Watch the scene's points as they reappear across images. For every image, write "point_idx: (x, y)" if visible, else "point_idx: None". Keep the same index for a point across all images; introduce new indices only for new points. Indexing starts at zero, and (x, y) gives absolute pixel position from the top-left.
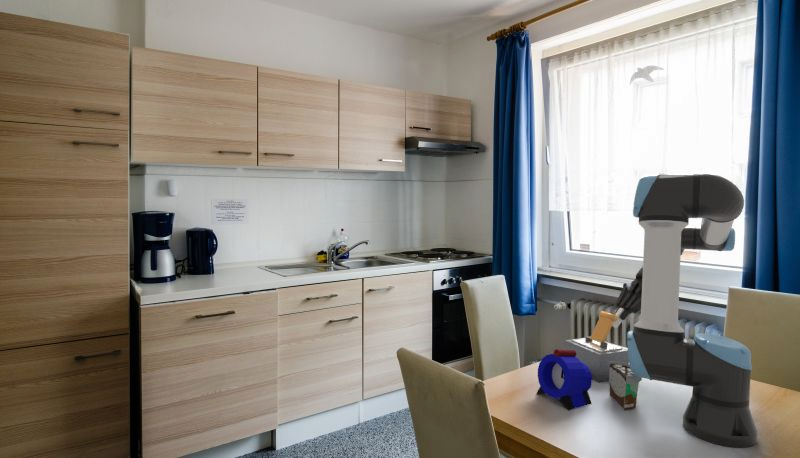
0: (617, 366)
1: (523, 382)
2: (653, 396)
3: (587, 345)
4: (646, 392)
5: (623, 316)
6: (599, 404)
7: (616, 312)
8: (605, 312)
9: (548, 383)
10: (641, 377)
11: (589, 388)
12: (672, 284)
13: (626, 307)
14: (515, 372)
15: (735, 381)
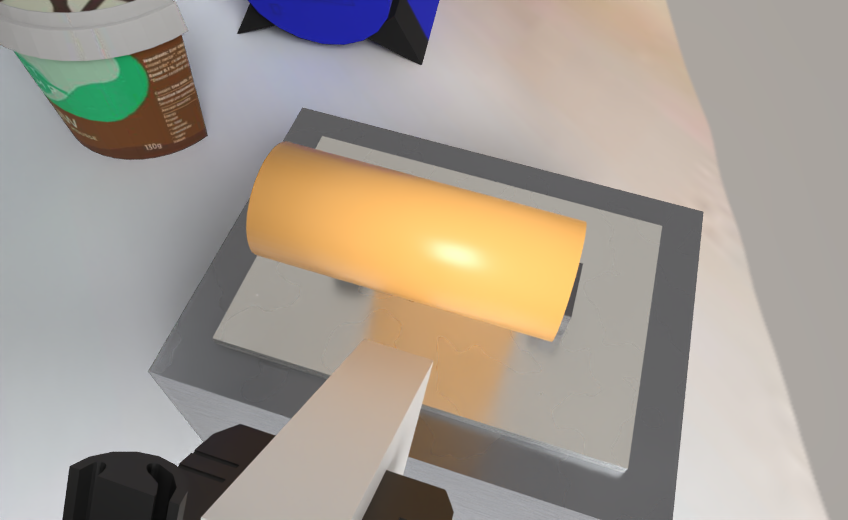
0: (116, 2)
1: (563, 17)
2: (5, 281)
3: (473, 189)
4: (51, 305)
5: (203, 451)
6: (209, 45)
7: (375, 460)
8: (480, 206)
9: None
10: None
11: (251, 3)
12: None
13: (80, 485)
14: (681, 69)
15: None
